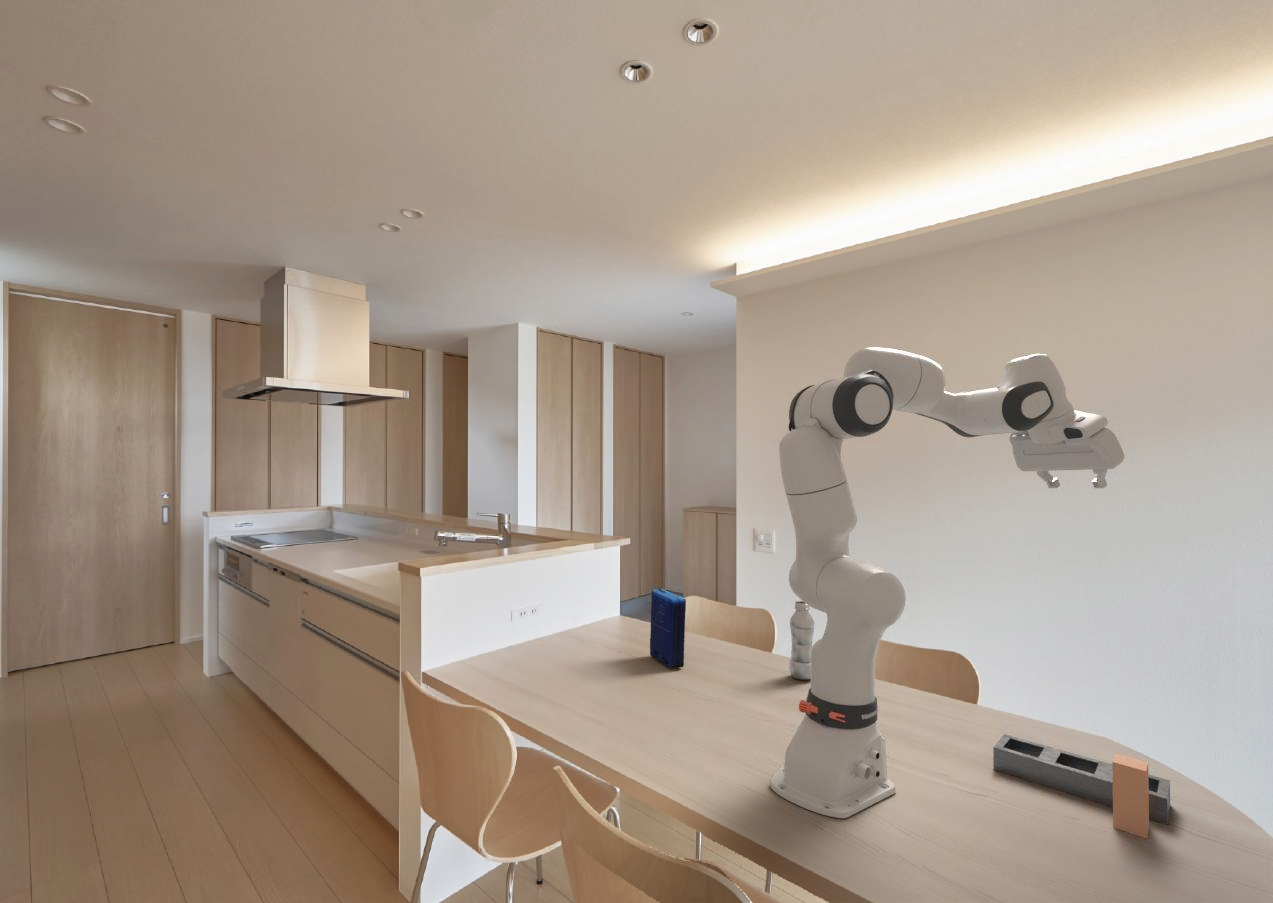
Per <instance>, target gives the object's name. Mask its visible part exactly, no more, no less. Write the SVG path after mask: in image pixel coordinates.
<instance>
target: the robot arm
mask: <svg viewBox="0 0 1273 903" xmlns="http://www.w3.org/2000/svg"><path fill="white" fill-rule="evenodd" d="M1004 370H1005V372H1004V375H1003V377H1002V379H1001V381H1000V382H999V383H998V384H997V385H996V386H995V387H993V388H992V387H991V388H985V389H978V390H969V391H968V390H967V391H961V392H957V393H951V392H948V391H945V390H946V377H945V373H944V370H943V368H942V367H941V365H940V364H939V363H937V362H935V361H934V360H932V359H930V358H928V357H926V356H923V355H919V354H916V353H912V352H908V351H904V350H900V349H899V350H898V349H893V348H887V347H873V346H872V347H871V346H869V347H863V348H860V349H858V350H857V351H855V352H854V353H852V354H851V356H850V358H848V359H847V362H846V364H845V367H844V370H843V376H842V377H841V378H837V379H836V378H833V379H829V380H824V381H821V382H819V383H816V384H811V385H808V386H806V387H804V388H802V389H801V390H800V391H799V392H797V393H796V394H795V395H794V396H793V398H792V400H791V402H790V404H789V409H788V410H789V411H788V419H789V422H788V432H787V433H786V434H785V435H784V436H783V437H782V438H781V440H780V442H779V445H778V446H779V447H778V450H779V451H778V452H779V453H778V454H779V464H780V465H779V466H780V471H781V478H782V484H783V487H784V488H783V489H784V492H785V496H786V499H787V503H788V507H789V511H790V514H791V519H792V524H793V528H794V532H795V548H796V550H795V560H794V561H793V563H792V564H791V567H790V569H789V574H788V582H789V586H790V589H791V591H792V592H793V593H794V594H795V596H796V597H797V598H798V599H800V601H803V602H805V603H806V604H807V605H808V606H809V608H810V607H811V608H813V609H814V610H817V611H820V612H823V613H825V614H826V626H825V629H824V632H823V635H822V637H821V638H820V639H818V640H816V642H815V643H813V644H812V649H811V679H810V688H809V689H808V693H807V696H806V700H803V699H801V700H800V701H799V703H798V711H799V712H800V713H805V715H804V716H803V718H802V720H801V722H800V723H799V726H798V728H797V730H796V731H795V733H794V735H793V737H792V739H790V742H789V743H788V746H787V748H786V750H785V756H784V762H783V764H782V765H781V766H780V768H778V769H777V771H776V772H775V774H774V775H773V776H772V777H771V778H770V781H769V787H770V788H771V789H772V791H774V792H775V793H776V794H777V795H778V796H780V797H782V798H783V799H786V800H787V801H789V802H791V803H793V804H795V805H797V806H799V807H801V808H804V809H806V810H809V811H811V812H813V813H814V812H815V813H817V814H820V815H823V816H827V817H832V818H836V819H846V818H850V817H851V816H853V815H855V814H857V813H859V812H861V811H863V810H865V809H866V808H869V807H870V806H873V805H874V804H876V803H878V802H881V801H882V800H885V799H886V798H888V797H890V796H892V795H894V794H895V793H896V785H895V783H894V782H892V780H891V779H890V778H889V777H888V764H887V763H888V761H887V748H886V738H884V736H883V734H882V733H881V731H880V729H879V726H878V725H877V721H878V712H879V705H878V699H877V697H876V696H875V694H876V693H875V692H876V690H875V688H876V687H875V686H876V685H875V684H876V660H877V652H878V649H879V646H880V643H881V640H882V639H883V636H884V634H885V633H886V631H887V629H888V628H889V627H891V626H893V625H895V623H896V622H897V621H899V619H900V618H901V616H902V614H903V613H904V610H905V607H906V600H907V599H906V591H905V588H904V585H903V583H902V582H901V580H900V579H899V578H898V577H897V576H896V575H894V573H891V572H889V571H888V570H886V569H885V568H883V567H882V566H879V565H877V564H875V563H872V562H867V561H863V560H858V559H854V558H853V557H852V556H851V553H850V548H849V539H850V538H849V537H850V533H851V532H852V531H853V530H854V529H855V527H856V525H857V521H858V517H857V514H856V509H855V504H854V501H853V498H852V497H853V496H852V493H851V489H850V485H849V481H848V477H847V473H846V471H845V467H844V464H843V462H842V456H841V454H842V453H841V452H842V445H843V442H844V440H846V439H847V440H848V439H853V438H864V437H867V436H870V435H874V434H876V433H877V432H879V431H880V430H882V429H884V428H885V427H886V425H887V424H888V422H889V421H890V419H891V416H892V412H893V410H894V411H898V412H903V413H908V414H915V415H918V416H922V417H925V418H927V419H931V420H934V421H938V422H939V423H942V424H944V425H945V426H946V427H948V428H949V429H951V430H952V431H953V432H954V433H956V434H958V435H959V436H962V437H964V438H975V437H981V436H991V435H992V436H993V435H1003V434H1004V435H1005V434H1010V436H1009V439H1008V440H1009V442H1010V444H1011V447H1012V453H1013V457H1014V460H1015V464H1016V467H1017V468H1018V469H1019V470H1020V471H1022V472H1036V473H1037V474H1036V475H1037V476H1038V477H1040V479H1042V480H1043V481H1044V482H1045V483H1046V485H1047V488H1048V489H1058V488H1059V487H1060V486H1061V483H1060V481H1059V478H1057V477H1054V476H1053V475H1052V474H1051V473H1050V471H1051V472H1052V471H1053V472H1054V471H1055V472H1056V471H1084V470H1085V471H1086V470H1087V471H1089V470H1090V471H1091V470H1092V472H1093V474H1094V475H1096V478H1094V479H1093V480H1092V481H1091V483H1092V485H1093V488H1094V489H1105V488H1106V487H1107V486H1108V483H1107V480H1106V477H1107V476H1106V475H1107V473H1108V470H1113V469H1115V468H1117V467H1118V466H1120V465H1121V464H1122V463H1123V462H1124V459H1125V453H1124V451H1123V448H1122V446H1121V444H1120V441H1119V440H1118V438H1117V436H1116V434H1115V433H1114V432H1113V431H1112V430H1111V429H1110V428H1107V425H1108V424H1109V423H1108V422H1109V421H1108V419H1107V417H1106V416H1105V415H1102V414H1097V413H1096V414H1095V413H1090V412H1083V411H1080V410H1079V411H1078V410H1075V408H1074V406H1073V404H1072V403H1071V402H1070V401H1069V399H1068V397H1067V393H1066V386H1065V384H1064V381H1063V378H1062V377H1061V374H1060V371H1059V370H1058V368H1057V366H1056V364H1055V363H1054V361H1053V360H1052V359H1051V357H1050V356H1048V355H1047V354H1045V353H1035V354H1030V355H1025V356H1022V357H1021V356H1020V357H1017V358H1016V357H1015V358H1013V359H1011V360H1008V361H1007V362H1006V363H1005V365H1004Z"/></svg>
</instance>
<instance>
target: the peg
mask: <svg viewBox="0 0 1273 903" xmlns="http://www.w3.org/2000/svg"><path fill="white" fill-rule="evenodd" d="M1111 764H1112V773H1113V807H1112V828H1114V829H1118V830H1121V831H1124V832H1127V833H1128V834H1132V835H1135V836H1139V837H1141V838H1144V839H1148V835H1149V831H1150V819H1149V777H1148V774H1149V762H1148V761H1145V760H1141V759H1137V758H1134V757H1131V756H1130V757H1129V756H1127V755H1122V754H1119V753H1114V756H1113V759H1112V762H1111Z"/></svg>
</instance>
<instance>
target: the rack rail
mask: <svg viewBox="0 0 1273 903" xmlns="http://www.w3.org/2000/svg"><path fill="white" fill-rule="evenodd" d="M992 748H993V749H992V750H993V752H992V753H993V758H992V759H993V765H992V766H993V770H995V771H998V772H1002V773H1005V774H1007V775H1011V776H1014V777H1017V778H1020V779H1024V780H1026V781H1029V782H1031V783H1035V784H1039V785H1041V786H1042V785H1043V786H1045V787H1048V788H1051V789H1055V790H1057V791H1061V792H1063V793H1066V794H1071V795H1073V796H1076V797H1079V798H1083V799H1085V800H1089V801H1092V802H1095V803H1098V804H1101V805H1104V806H1107V807H1110V808H1113V773H1112V763H1108V762H1105V761H1102V760H1099V759H1095V758H1091V757H1087V756H1085V755H1084V756H1083V755H1081V754H1077V753H1073V752H1070V751H1067V750H1062V749H1059V748H1055V747H1052V746H1048V745H1044V744H1041V743H1038V742H1034V741H1031V740H1027V739H1023V738H1019V737H1016V736H1012V735H1010V734H1009V735H1008V734H1005V733H1004V734H1003V735H1002V736H1001V738H1000V739H999V740H998V741H997V742H996V743H995V745H994V746H993V747H992ZM1148 777H1149V820H1151V821H1155V822H1157V823H1160V824H1163V825H1166V826H1168V824H1169V818H1170V817H1169V816H1170V811H1171V780H1169V779H1166V778H1163V777H1159V776H1155V775H1152V774H1149V773H1148Z"/></svg>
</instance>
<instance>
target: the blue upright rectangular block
mask: <svg viewBox="0 0 1273 903" xmlns="http://www.w3.org/2000/svg"><path fill="white" fill-rule="evenodd" d="M650 603H651V605H650V606H651V607H650V638H649V655H650V656H651V658H653V659H654V660H655V661H657V662H659V663H660V664H662V665H664V666H665V667H667V668H669V669H679V668H684V665H685V661H684V660H685V636H686V634H685V632H686V631H685V630H686V612H687V611H686V610H687V609H686V608H687V601H686V598H685V597H684V596H680V595H677V594H675V593H672V592H670V591H668V590H665V589H664V588H655V589H652V590H651V602H650Z"/></svg>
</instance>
